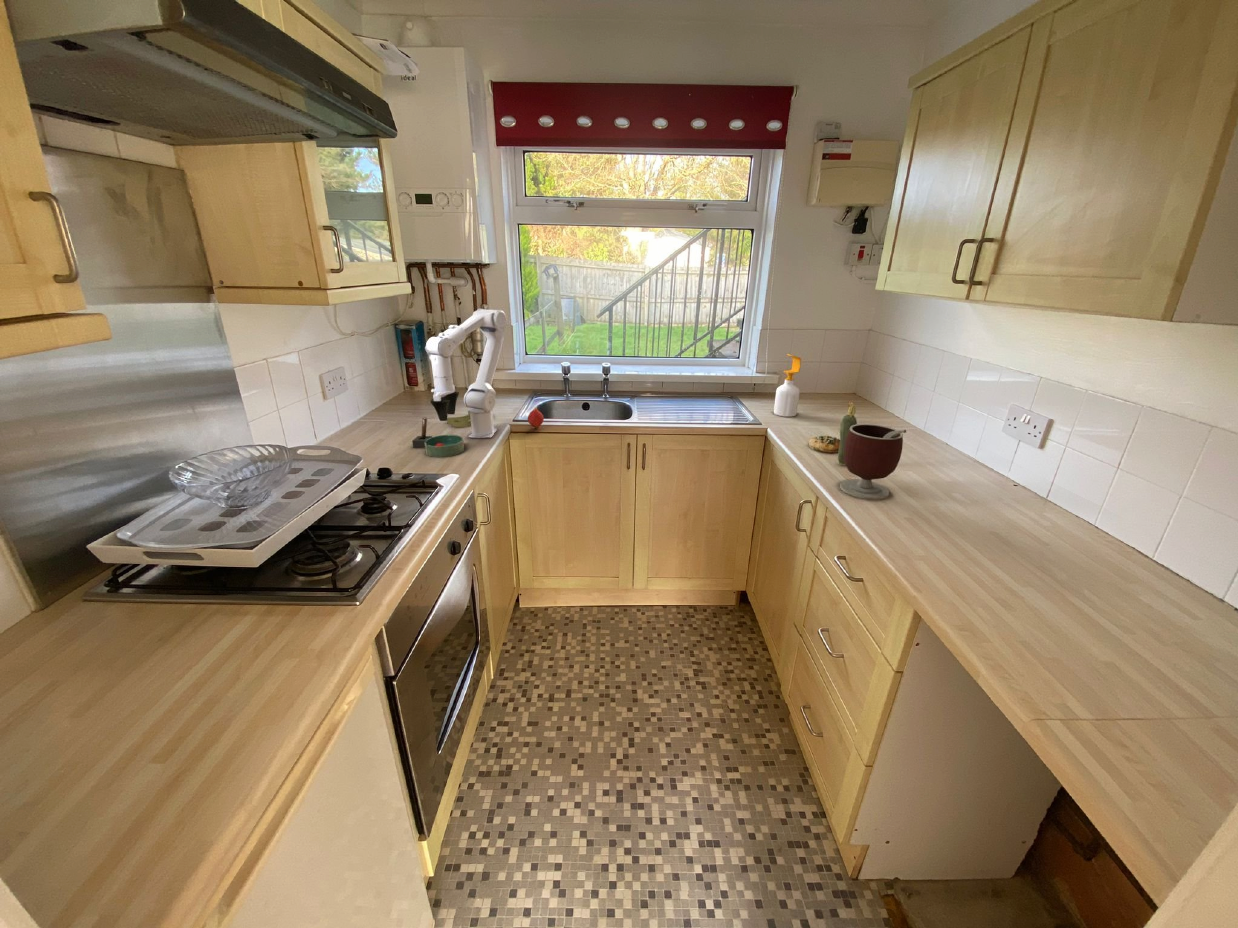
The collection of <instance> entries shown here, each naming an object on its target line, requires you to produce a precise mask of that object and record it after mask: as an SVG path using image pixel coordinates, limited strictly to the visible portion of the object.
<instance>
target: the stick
mask: <svg viewBox="0 0 1238 928" xmlns="http://www.w3.org/2000/svg"><path fill="white" fill-rule="evenodd" d="M421 425H422V426H421V434H420V436H421V439H426V436H427V426H428V418H427V417H426V416H424V417H423V418H422V422H421Z"/></svg>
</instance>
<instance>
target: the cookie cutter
mask: <svg viewBox="0 0 1238 928" xmlns="http://www.w3.org/2000/svg"><path fill="white" fill-rule="evenodd" d="M446 424H448V425H451V427H453V428H467V427H471V417H470V411H468V410H467V415H463V416H455V417H452V416H451V417H450V416H448V417H447V421H446Z"/></svg>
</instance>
